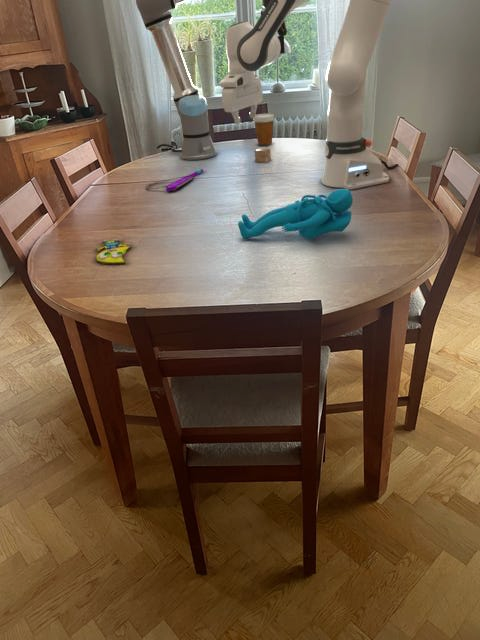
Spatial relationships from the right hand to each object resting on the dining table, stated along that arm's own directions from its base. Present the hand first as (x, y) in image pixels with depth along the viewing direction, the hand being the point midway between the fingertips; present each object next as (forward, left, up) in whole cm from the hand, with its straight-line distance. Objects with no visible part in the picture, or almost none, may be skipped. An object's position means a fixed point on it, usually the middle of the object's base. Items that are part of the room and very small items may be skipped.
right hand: (245, 120), depth 171 cm
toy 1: (+47, +58, -19) cm, 77 cm away
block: (-8, -15, -19) cm, 25 cm away
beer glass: (-15, -43, -19) cm, 49 cm away
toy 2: (-2, +63, -19) cm, 66 cm away
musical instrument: (+28, 0, -19) cm, 34 cm away
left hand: (-21, -49, +16) cm, 56 cm away
